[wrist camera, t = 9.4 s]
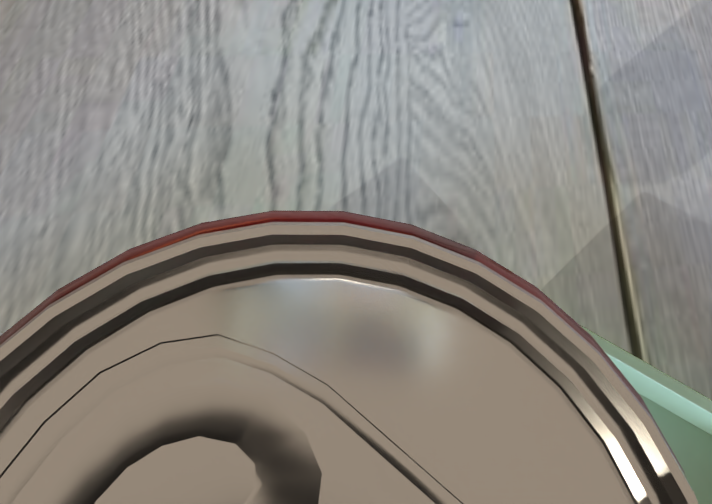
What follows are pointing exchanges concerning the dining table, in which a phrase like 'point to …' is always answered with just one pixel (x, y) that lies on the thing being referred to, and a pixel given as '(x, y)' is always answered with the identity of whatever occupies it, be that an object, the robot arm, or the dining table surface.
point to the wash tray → (672, 415)
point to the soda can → (317, 379)
